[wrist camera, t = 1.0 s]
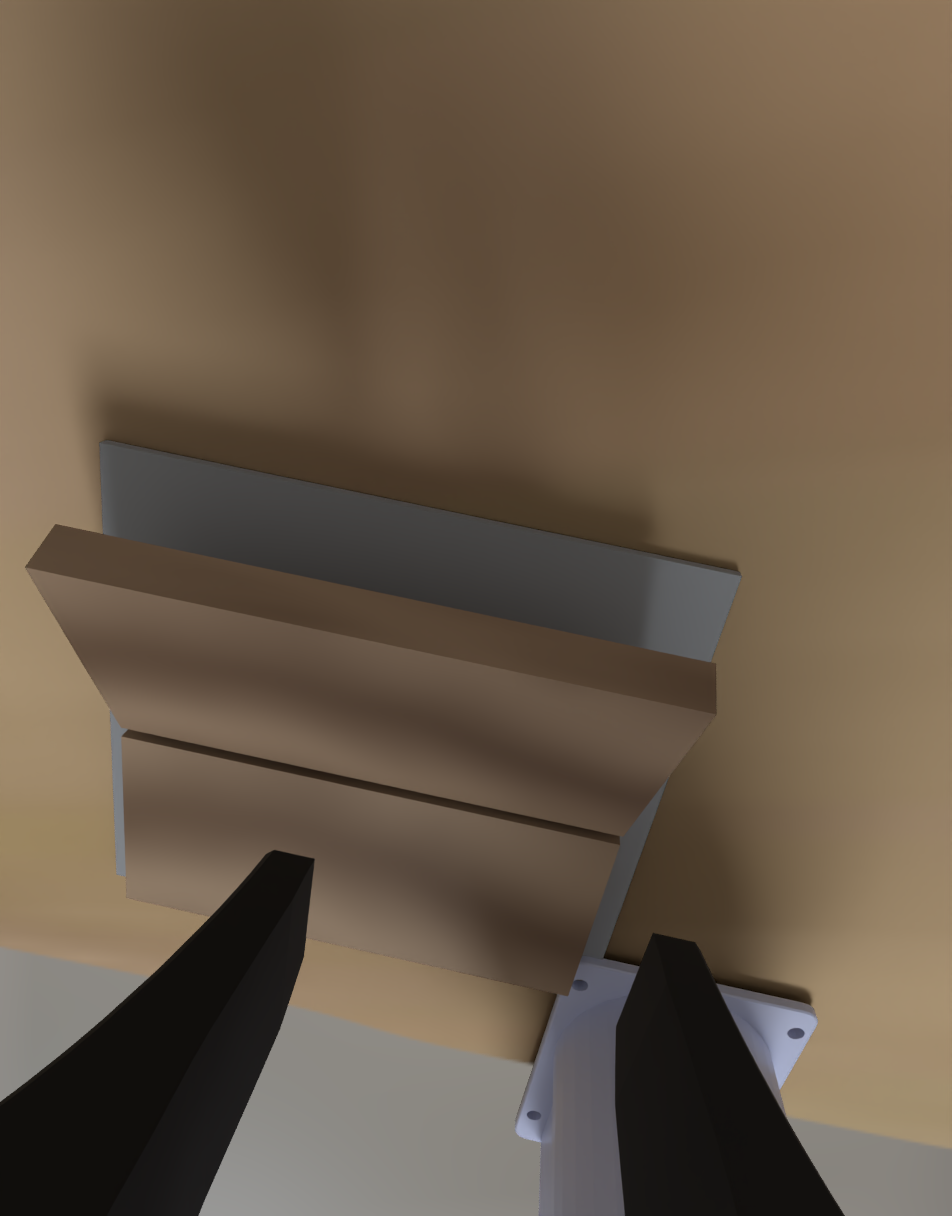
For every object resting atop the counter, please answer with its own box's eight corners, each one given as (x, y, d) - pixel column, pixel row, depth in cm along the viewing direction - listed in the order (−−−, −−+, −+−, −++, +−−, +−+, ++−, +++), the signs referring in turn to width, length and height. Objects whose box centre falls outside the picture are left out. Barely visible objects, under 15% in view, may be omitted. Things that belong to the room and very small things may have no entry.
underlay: (594, 972, 25) (594, 980, 25) (121, 867, 25) (116, 874, 25) (739, 571, 18) (741, 576, 18) (106, 439, 19) (99, 442, 19)
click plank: (625, 795, 21) (623, 836, 20) (140, 690, 21) (121, 727, 21) (716, 663, 16) (716, 714, 15) (55, 524, 16) (24, 567, 15)
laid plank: (567, 963, 24) (567, 996, 23) (145, 869, 25) (126, 897, 24) (617, 815, 22) (620, 845, 21) (143, 712, 22) (121, 736, 21)
